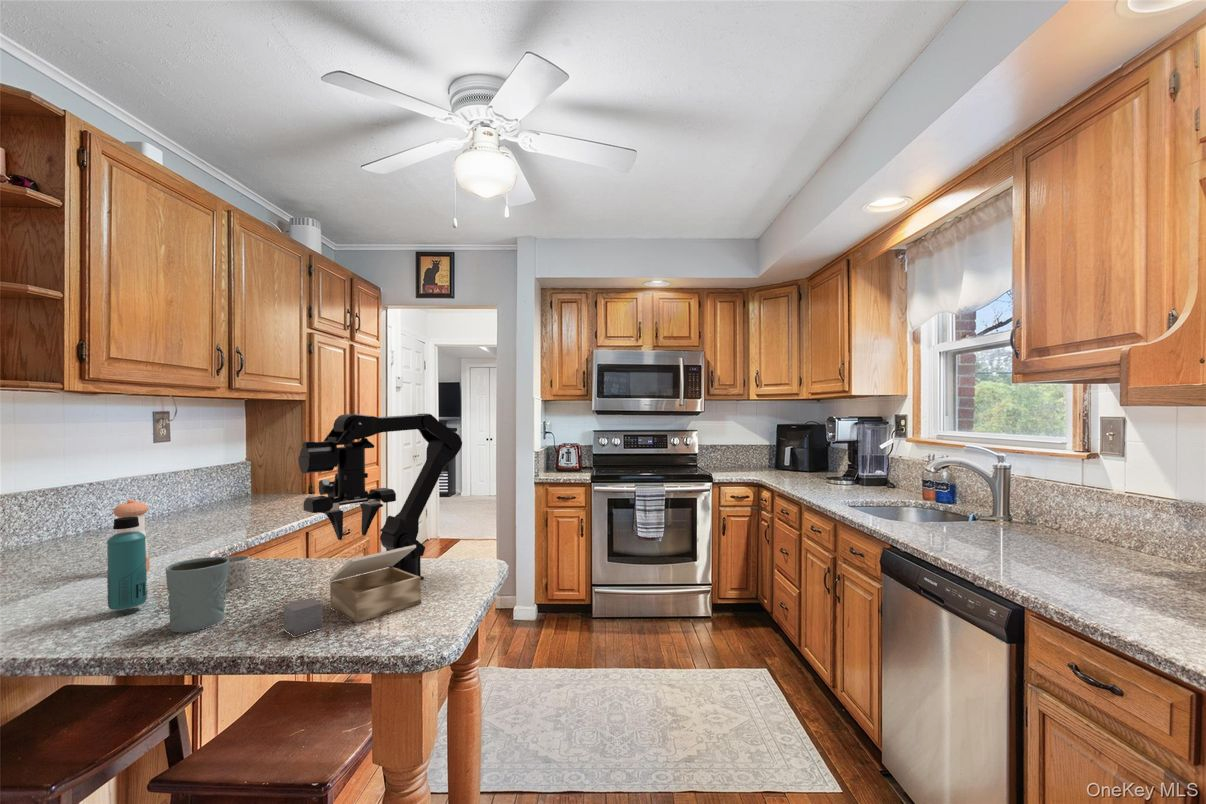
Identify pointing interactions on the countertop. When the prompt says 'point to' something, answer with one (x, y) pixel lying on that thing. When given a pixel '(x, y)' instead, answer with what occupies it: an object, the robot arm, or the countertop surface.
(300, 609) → the block
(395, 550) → the lid
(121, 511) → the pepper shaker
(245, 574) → the mug
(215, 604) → the gray green planter pot
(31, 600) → the countertop surface
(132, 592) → the beverage bottle
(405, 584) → the box
